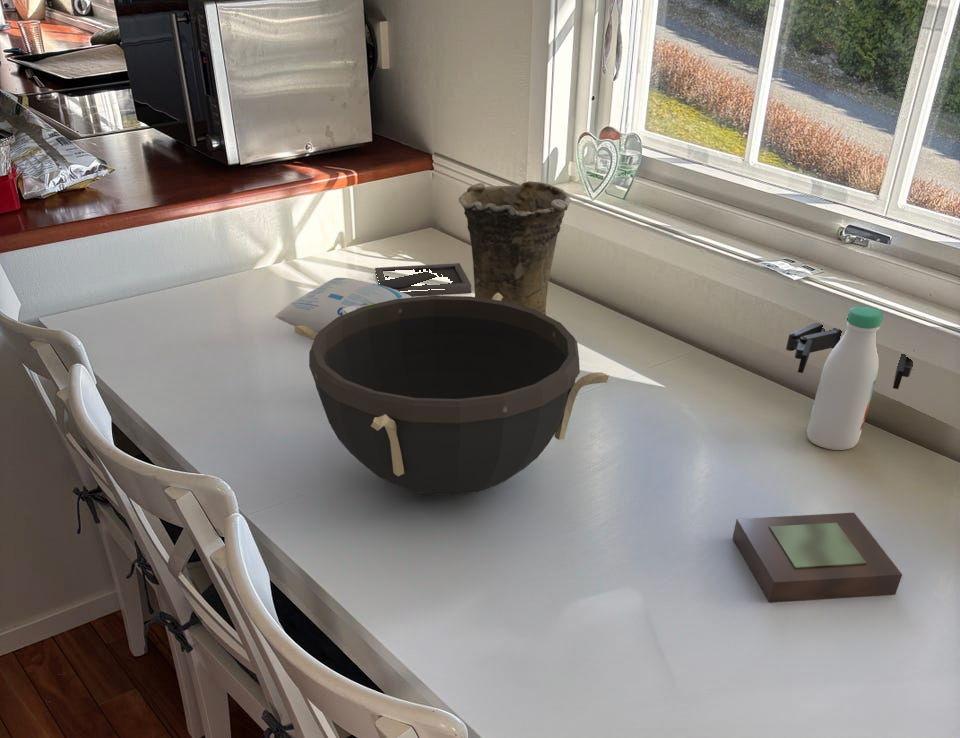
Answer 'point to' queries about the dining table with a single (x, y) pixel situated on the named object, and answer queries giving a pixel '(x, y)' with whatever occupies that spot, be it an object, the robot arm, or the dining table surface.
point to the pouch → (334, 302)
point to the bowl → (446, 388)
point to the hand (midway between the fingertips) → (849, 372)
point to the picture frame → (447, 270)
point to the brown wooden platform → (815, 557)
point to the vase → (514, 239)
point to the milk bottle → (847, 383)
